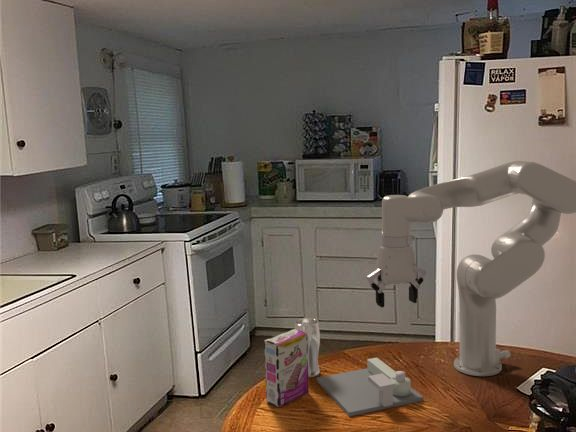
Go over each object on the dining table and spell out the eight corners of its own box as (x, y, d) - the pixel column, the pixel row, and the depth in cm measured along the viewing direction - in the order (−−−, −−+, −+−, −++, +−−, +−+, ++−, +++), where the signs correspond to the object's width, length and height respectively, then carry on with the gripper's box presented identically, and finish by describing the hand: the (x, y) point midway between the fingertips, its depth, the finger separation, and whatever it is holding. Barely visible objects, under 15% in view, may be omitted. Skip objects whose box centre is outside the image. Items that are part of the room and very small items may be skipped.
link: (414, 394, 139) (414, 375, 138) (396, 397, 137) (396, 378, 137) (380, 367, 156) (380, 350, 155) (364, 370, 154) (363, 352, 154)
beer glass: (319, 378, 153) (317, 325, 151) (294, 377, 155) (291, 325, 153) (322, 368, 160) (320, 317, 158) (298, 367, 161) (296, 317, 159)
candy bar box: (280, 408, 137) (276, 344, 135) (265, 402, 141) (262, 340, 139) (310, 392, 145) (307, 331, 143) (296, 387, 149) (293, 327, 146)
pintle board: (382, 368, 158) (382, 347, 157) (424, 401, 137) (424, 377, 137) (316, 381, 152) (315, 359, 151) (350, 417, 131) (349, 392, 130)
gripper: (418, 236, 155) (418, 296, 158) (360, 242, 150) (361, 304, 153) (432, 241, 148) (432, 304, 151) (373, 247, 143) (373, 311, 146)
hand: (396, 303), depth 152 cm, fingers open, 9 cm apart
